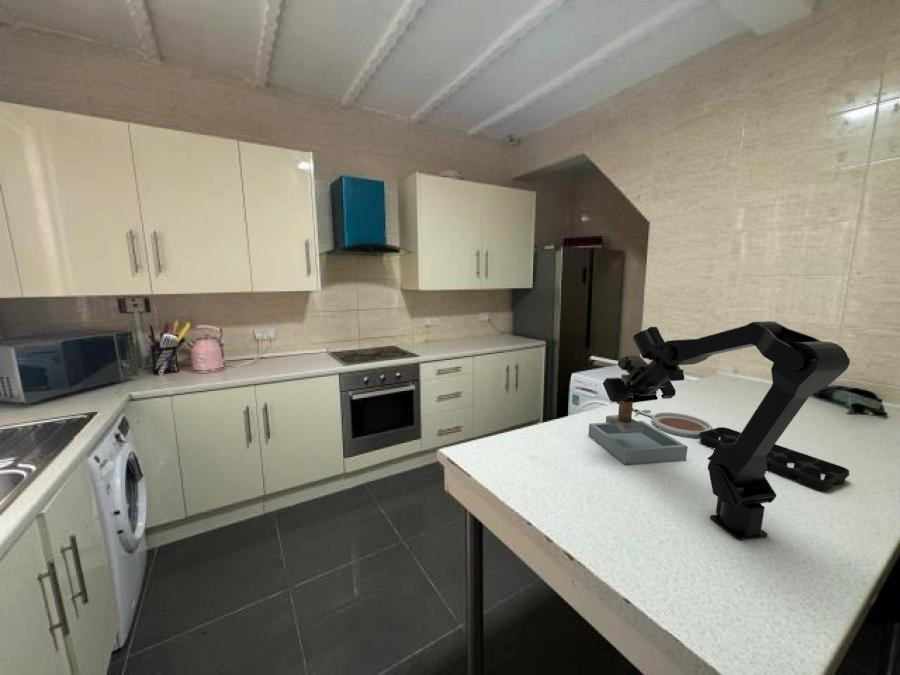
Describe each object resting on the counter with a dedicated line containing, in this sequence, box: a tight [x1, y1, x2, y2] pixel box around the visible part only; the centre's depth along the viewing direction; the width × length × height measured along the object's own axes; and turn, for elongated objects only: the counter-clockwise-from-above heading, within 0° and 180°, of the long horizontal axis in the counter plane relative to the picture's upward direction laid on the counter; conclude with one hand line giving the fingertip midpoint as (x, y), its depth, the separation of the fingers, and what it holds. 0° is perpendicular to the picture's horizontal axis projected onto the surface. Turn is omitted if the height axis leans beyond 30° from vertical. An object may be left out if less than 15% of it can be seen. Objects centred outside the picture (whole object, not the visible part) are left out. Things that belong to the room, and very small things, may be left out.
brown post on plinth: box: [605, 373, 644, 433], centre depth 101 cm, size 8×6×15 cm
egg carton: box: [699, 426, 850, 493], centre depth 96 cm, size 18×30×4 cm, turn 36°
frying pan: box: [632, 407, 714, 439], centre depth 122 cm, size 17×3×28 cm
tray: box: [588, 420, 688, 466], centre depth 103 cm, size 18×18×4 cm
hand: (622, 402), depth 102 cm, fingers closed on brown post on plinth, 3 cm apart
